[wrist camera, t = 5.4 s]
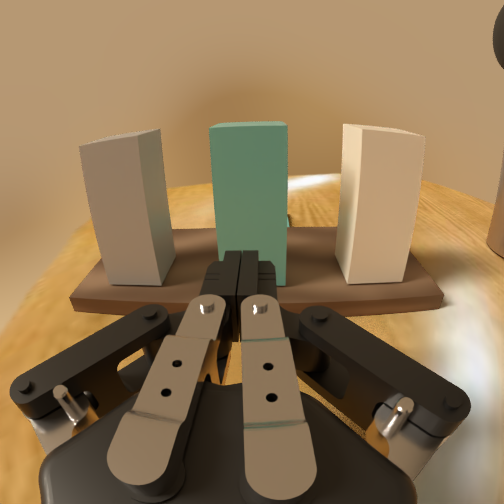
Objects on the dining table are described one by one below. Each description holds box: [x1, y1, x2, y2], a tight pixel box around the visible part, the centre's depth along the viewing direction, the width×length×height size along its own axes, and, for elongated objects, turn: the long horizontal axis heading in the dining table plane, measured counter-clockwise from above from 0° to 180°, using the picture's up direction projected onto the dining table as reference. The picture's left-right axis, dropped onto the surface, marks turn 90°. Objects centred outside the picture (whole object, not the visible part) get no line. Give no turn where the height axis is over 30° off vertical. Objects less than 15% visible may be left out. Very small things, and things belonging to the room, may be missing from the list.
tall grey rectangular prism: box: [79, 129, 176, 286], centre depth 23 cm, size 5×5×12 cm
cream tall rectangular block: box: [335, 124, 426, 284], centre depth 23 cm, size 5×5×12 cm
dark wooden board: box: [69, 227, 444, 317], centre depth 28 cm, size 14×32×2 cm, turn 89°
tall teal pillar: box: [209, 121, 288, 286], centre depth 23 cm, size 5×5×12 cm
